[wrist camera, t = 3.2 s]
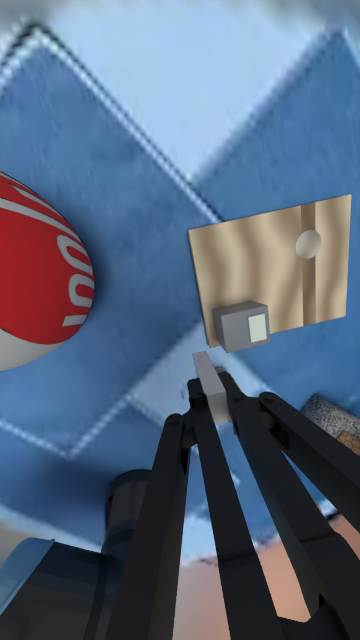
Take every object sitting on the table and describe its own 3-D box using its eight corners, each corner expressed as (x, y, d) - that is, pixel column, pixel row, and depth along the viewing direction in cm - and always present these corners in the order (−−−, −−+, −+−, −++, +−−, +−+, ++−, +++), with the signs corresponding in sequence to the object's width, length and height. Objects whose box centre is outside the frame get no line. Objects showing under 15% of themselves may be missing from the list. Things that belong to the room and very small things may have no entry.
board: (208, 344, 32) (210, 347, 31) (187, 232, 27) (188, 230, 26) (337, 314, 33) (345, 316, 31) (341, 198, 28) (351, 194, 26)
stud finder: (217, 340, 31) (227, 354, 25) (211, 309, 29) (221, 316, 24) (254, 332, 31) (272, 343, 25) (251, 300, 29) (269, 305, 24)
